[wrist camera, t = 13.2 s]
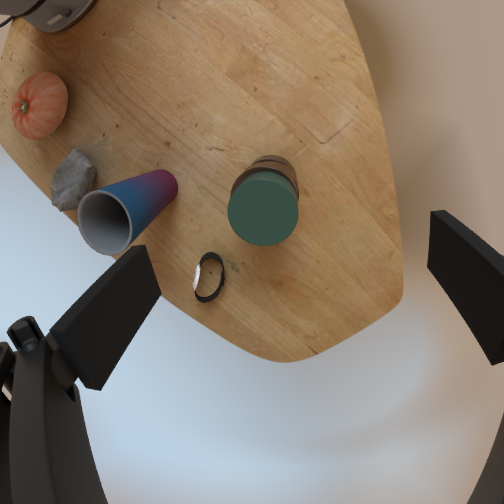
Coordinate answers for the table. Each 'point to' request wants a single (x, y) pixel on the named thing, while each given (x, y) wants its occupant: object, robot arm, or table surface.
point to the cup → (124, 210)
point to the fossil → (72, 181)
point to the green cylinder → (263, 209)
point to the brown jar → (270, 165)
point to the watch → (197, 273)
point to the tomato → (39, 105)
